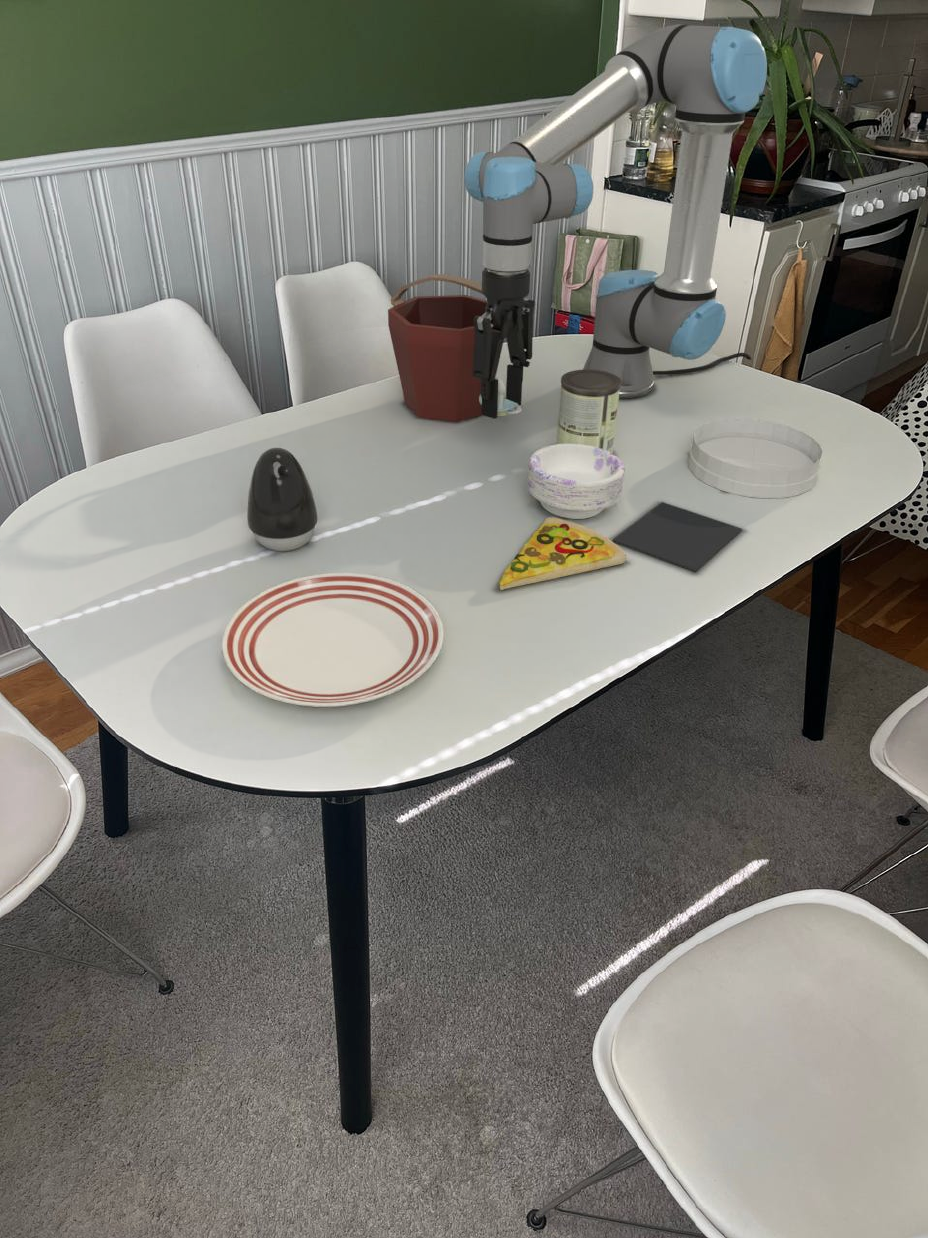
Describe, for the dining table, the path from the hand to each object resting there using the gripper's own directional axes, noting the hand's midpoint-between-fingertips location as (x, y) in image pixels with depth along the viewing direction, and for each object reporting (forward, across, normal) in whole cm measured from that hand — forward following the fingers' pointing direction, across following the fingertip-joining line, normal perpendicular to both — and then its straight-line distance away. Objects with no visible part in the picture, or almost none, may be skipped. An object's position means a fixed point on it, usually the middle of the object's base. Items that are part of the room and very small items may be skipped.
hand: (501, 409), depth 159 cm
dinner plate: (+10, +57, +16) cm, 60 cm away
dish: (+11, -28, +35) cm, 46 cm away
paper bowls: (+11, +4, +18) cm, 21 cm away
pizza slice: (+11, +22, +25) cm, 35 cm away
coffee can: (+11, -14, +9) cm, 20 cm away
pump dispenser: (+10, +42, -9) cm, 45 cm away
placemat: (+11, +2, +36) cm, 38 cm away
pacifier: (+1, 0, 0) cm, 1 cm away
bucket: (+11, -16, -24) cm, 31 cm away
